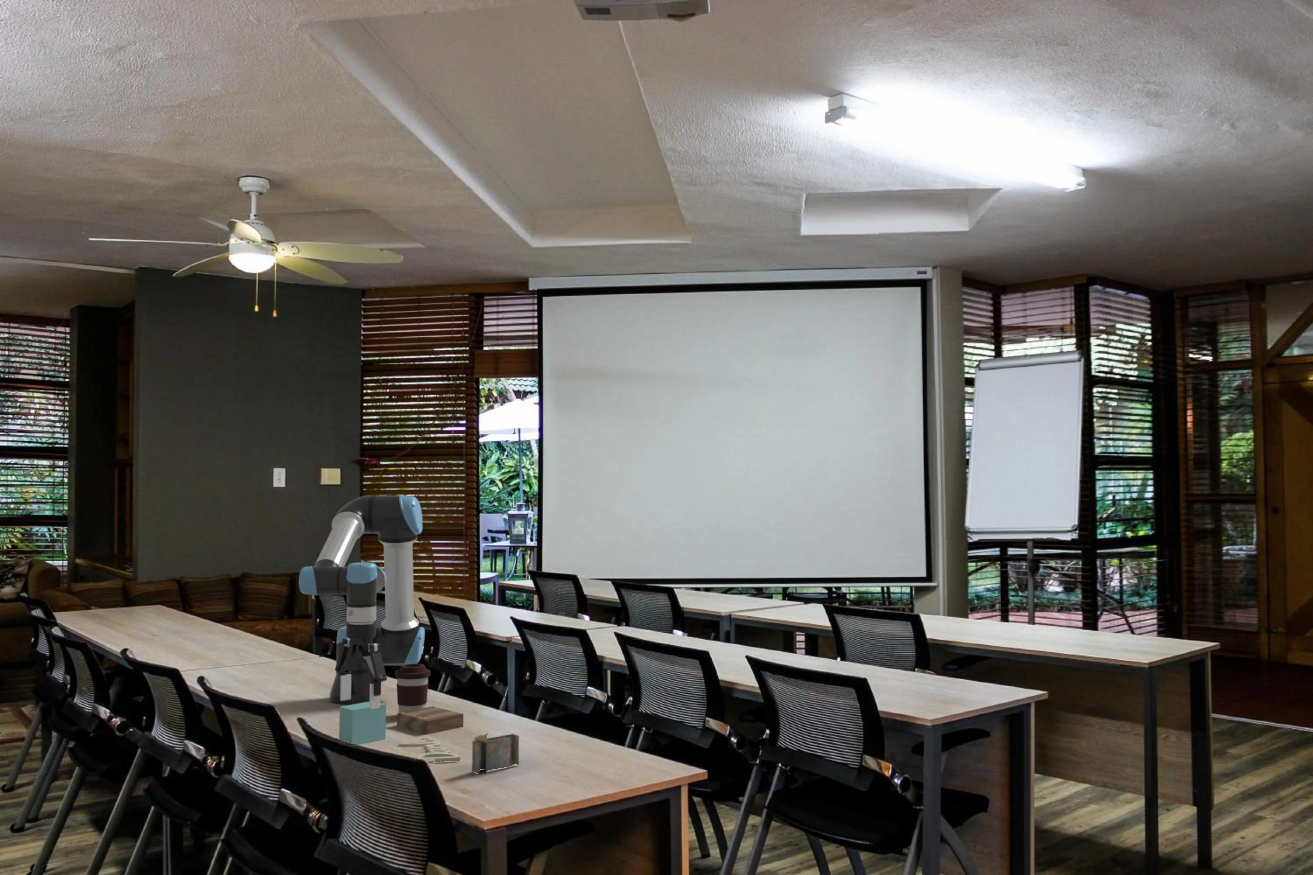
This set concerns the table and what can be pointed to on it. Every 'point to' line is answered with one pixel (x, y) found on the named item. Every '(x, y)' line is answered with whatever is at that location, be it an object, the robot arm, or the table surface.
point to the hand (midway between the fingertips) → (359, 703)
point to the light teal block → (362, 723)
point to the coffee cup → (412, 686)
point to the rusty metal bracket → (495, 752)
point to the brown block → (430, 720)
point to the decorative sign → (433, 751)
